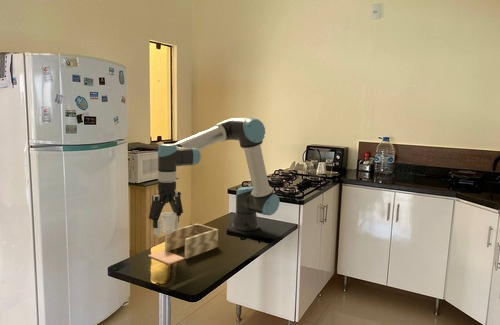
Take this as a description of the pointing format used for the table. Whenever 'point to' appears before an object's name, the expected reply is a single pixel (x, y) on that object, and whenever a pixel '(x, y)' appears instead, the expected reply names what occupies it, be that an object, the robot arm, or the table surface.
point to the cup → (167, 222)
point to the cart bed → (192, 239)
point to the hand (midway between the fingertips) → (166, 232)
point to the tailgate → (166, 257)
